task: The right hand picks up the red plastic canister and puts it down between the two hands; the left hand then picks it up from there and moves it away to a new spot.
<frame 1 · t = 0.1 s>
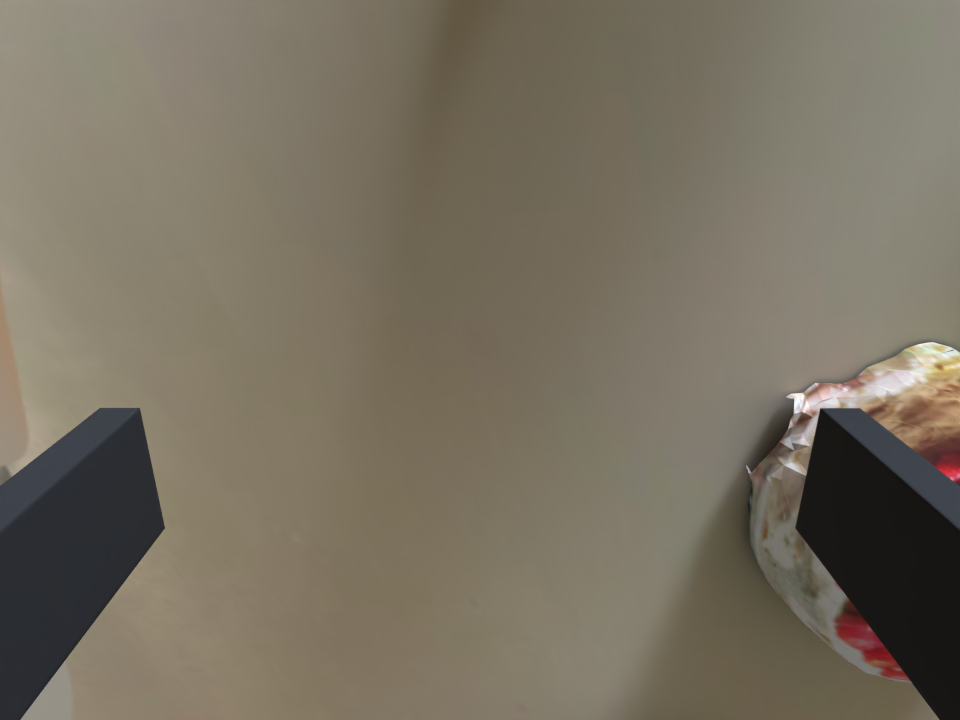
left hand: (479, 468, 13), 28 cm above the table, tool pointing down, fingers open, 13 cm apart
cake: (910, 480, 45), on the table
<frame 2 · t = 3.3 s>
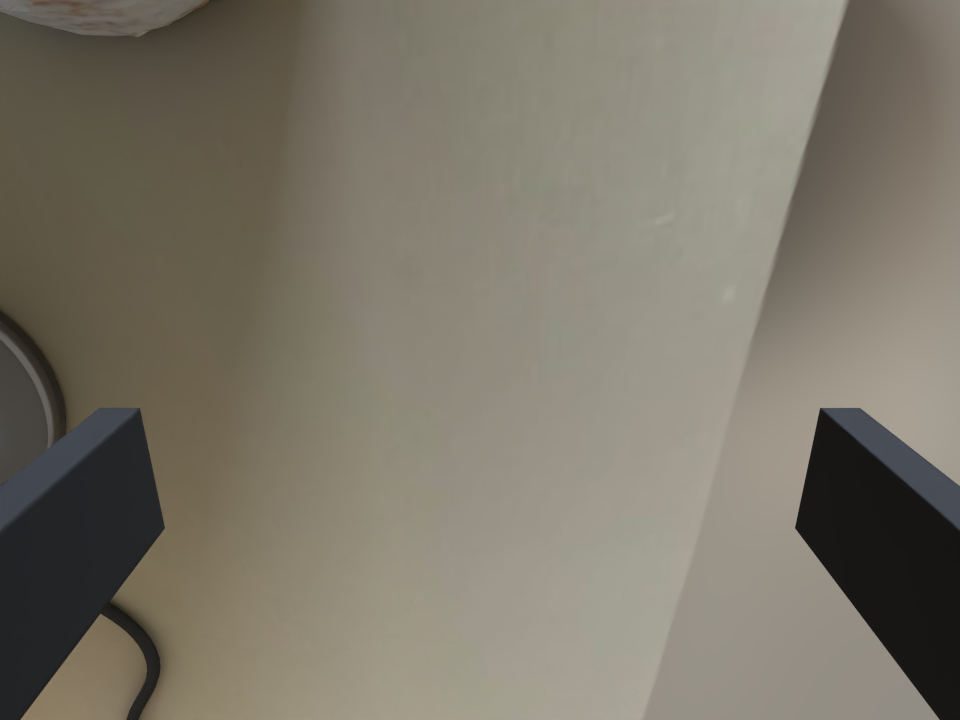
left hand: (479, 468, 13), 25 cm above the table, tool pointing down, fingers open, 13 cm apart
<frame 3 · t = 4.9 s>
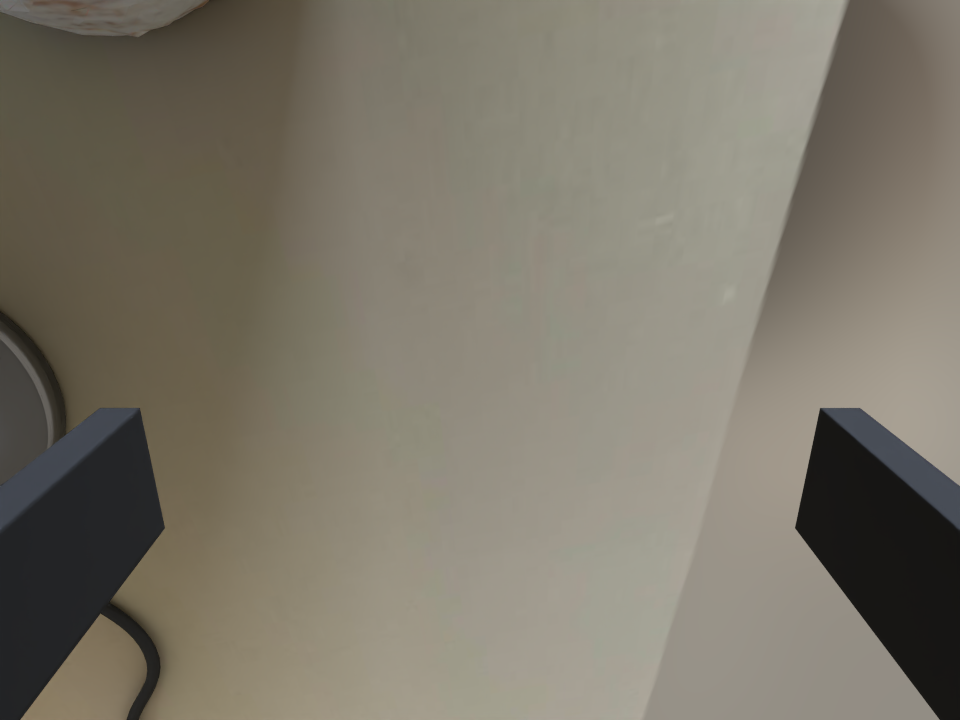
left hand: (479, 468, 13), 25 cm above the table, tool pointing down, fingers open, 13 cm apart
when the right hand's fingers open (3 cm above the table, at t = 6.4 s): canister drops 1 cm, on the table.
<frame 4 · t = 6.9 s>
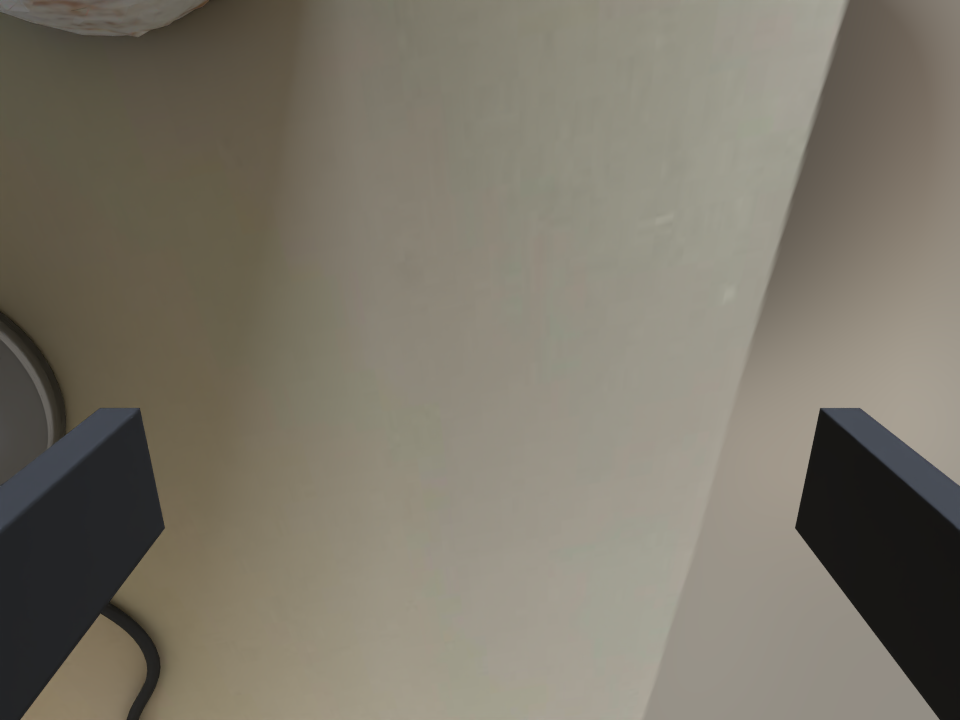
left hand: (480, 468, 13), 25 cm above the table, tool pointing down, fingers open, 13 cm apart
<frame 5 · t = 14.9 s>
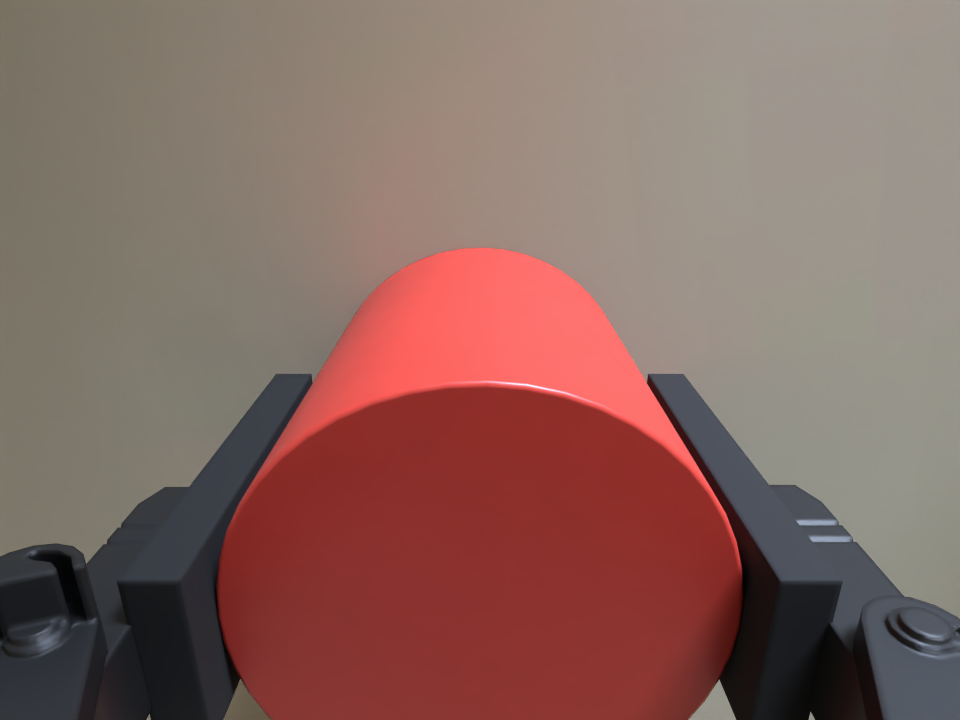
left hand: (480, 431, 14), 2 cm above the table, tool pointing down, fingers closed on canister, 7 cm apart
canister: (479, 389, 16), on the table, touching left hand
when the left hand's fingers open (3 cm above the table, at t = 22.5 s): canister drops 1 cm, on the table.
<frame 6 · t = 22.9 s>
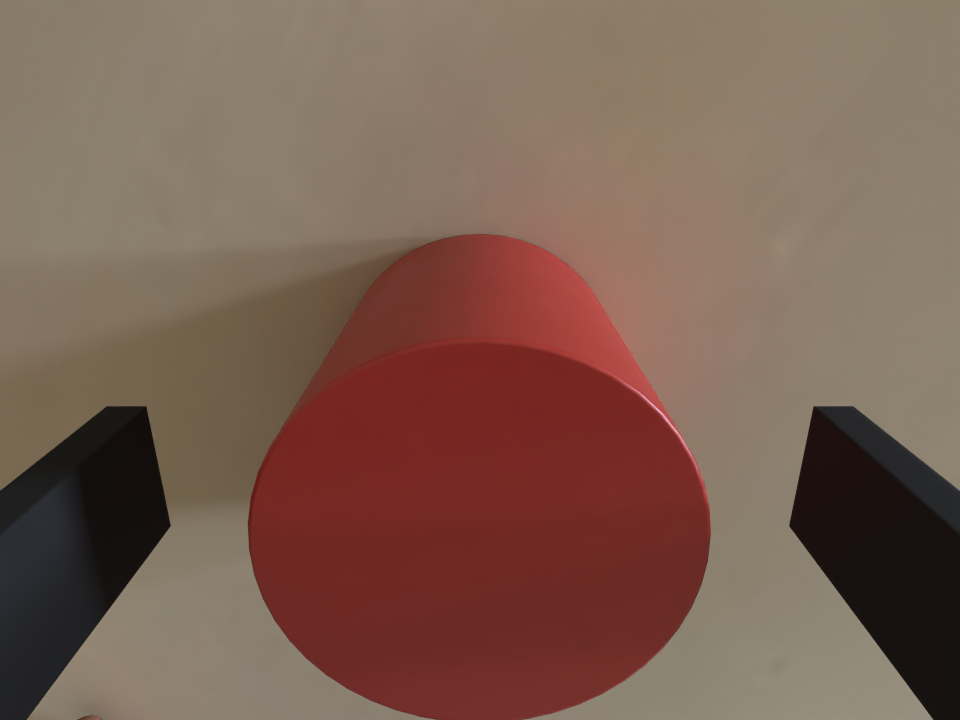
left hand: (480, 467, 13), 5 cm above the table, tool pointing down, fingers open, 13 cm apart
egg: (99, 713, 22), on the table
canister: (479, 367, 17), on the table
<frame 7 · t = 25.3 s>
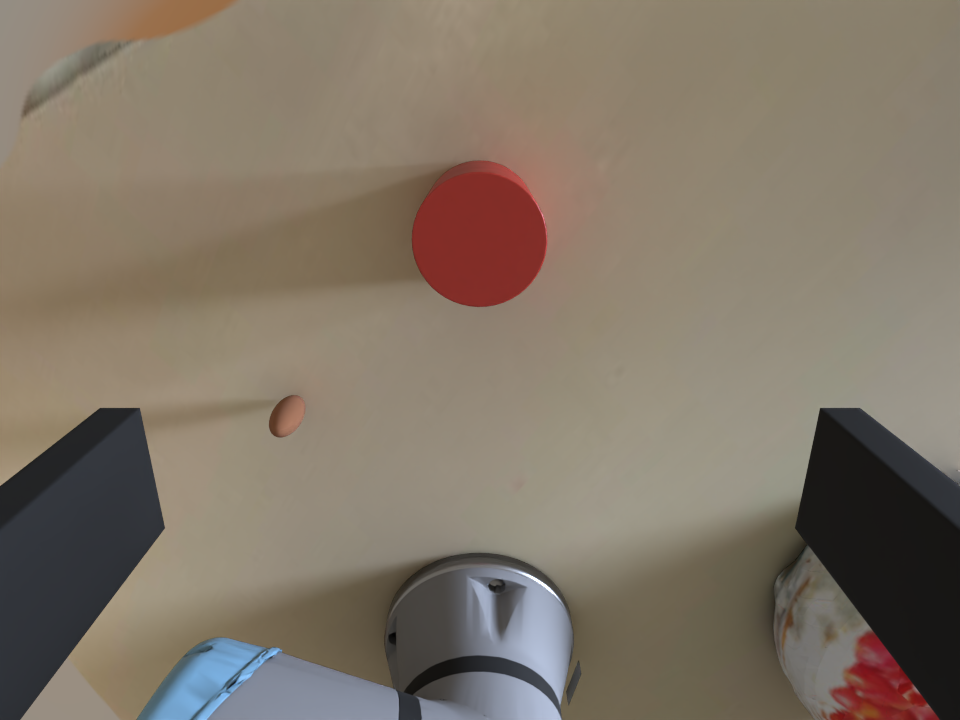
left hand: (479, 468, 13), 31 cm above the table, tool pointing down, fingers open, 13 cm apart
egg: (298, 398, 46), on the table
canister: (479, 218, 42), on the table
cake: (916, 595, 53), on the table
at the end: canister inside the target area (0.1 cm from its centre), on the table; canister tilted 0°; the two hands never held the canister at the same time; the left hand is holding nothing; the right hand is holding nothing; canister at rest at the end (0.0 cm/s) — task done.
